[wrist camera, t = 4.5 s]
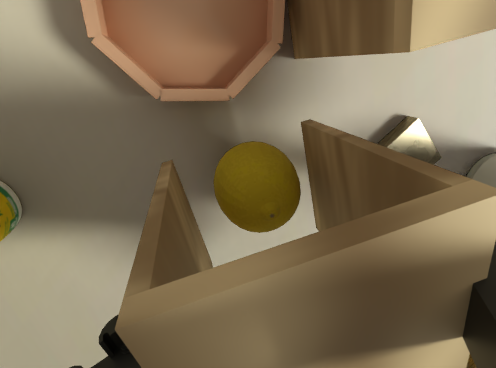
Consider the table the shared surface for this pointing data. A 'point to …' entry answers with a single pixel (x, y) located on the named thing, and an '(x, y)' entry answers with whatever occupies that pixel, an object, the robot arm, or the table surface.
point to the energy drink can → (484, 170)
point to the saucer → (187, 43)
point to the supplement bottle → (8, 210)
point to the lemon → (257, 186)
